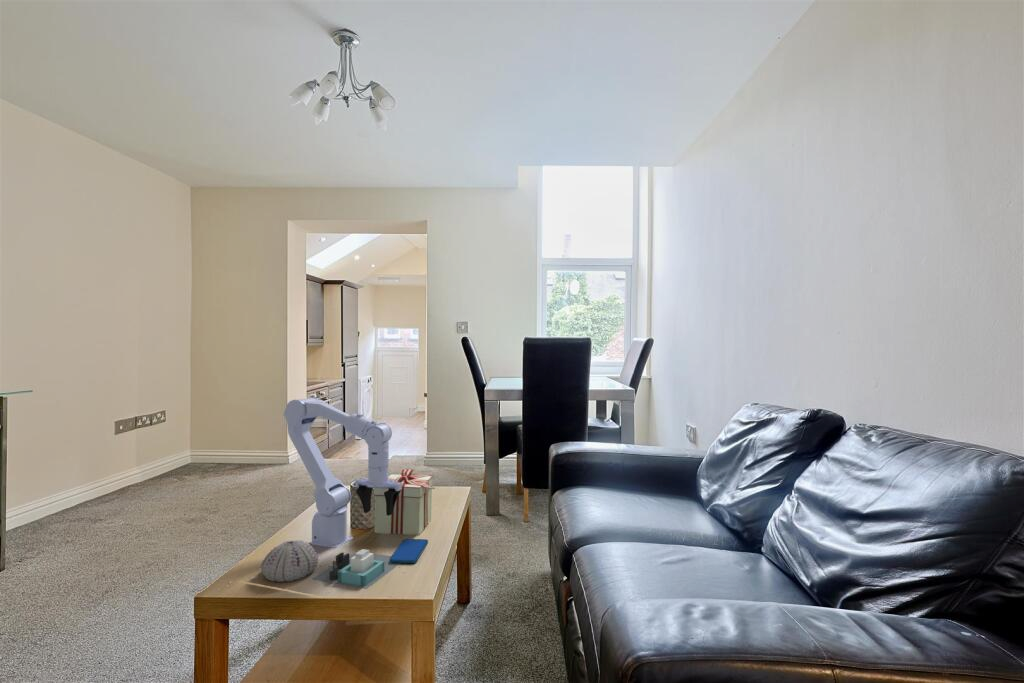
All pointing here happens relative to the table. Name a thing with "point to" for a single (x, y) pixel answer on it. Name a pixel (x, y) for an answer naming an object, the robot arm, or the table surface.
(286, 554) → the sea urchin shell
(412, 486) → the gift box
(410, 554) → the smartphone
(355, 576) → the board
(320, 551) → the table surface
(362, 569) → the connector plug
